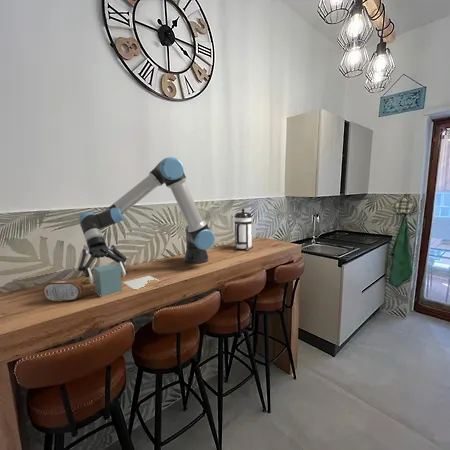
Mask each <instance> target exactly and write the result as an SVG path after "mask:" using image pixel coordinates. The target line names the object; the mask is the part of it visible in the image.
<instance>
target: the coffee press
mask: <svg viewBox="0 0 450 450" xmlns="http://www.w3.org/2000/svg"><path fill="white" fill-rule="evenodd" d="M252 217H253V216H252V214H251V212H246V211H245V209H244V208H242V209H241V211H239V212H236V213H235V214H234V239H235V240H234V242H235V245H234V246H235V247H234V248H233V250H235V251H237V250H238V249H243V250H245V251H246V252H249V251H250V249H253V244H252V238H253V237H252V223H253V222H252Z"/></svg>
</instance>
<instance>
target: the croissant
mask: <svg viewBox="0 0 450 450" xmlns="http://www.w3.org/2000/svg"><path fill="white" fill-rule="evenodd" d="M125 272H126V274H125V276H126V275H127V274H128V272H129V271H128V270H127V269H125ZM91 274H92V277H93V280H94V273H91ZM122 277H123V275H122V273H121V278H122ZM81 281H82V282H83V283H85V284H91V283H90V280H89V277H86V276H85V277H84V278H82V279H81ZM93 284H95V280H94V282H93Z"/></svg>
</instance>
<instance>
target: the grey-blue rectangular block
mask: <svg viewBox="0 0 450 450" xmlns="http://www.w3.org/2000/svg"><path fill="white" fill-rule="evenodd" d="M93 274H94V280H95V283H94V288H95V293H96V292H97V295H99V296H100V295H101V296H102V297H104V296H105V297H106V296H108V295H112V294H115V293H119V292H122V291H123V285H122V284H123V281H122V277H121V269H120V267H119V265H116V264H114V263H111V264H105V265H101V266H96V267H93ZM101 296H100V297H101Z"/></svg>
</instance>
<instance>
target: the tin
mask: <svg viewBox="0 0 450 450" xmlns="http://www.w3.org/2000/svg"><path fill="white" fill-rule="evenodd" d="M42 289H43V290H42V294H43V296H44V298H45V299H46V300H48V301H50V300H74V301H76V300H77V299H78V298H81V296H82V295H83V292H84V287H83V286H82V284H81V283H80V282H79V281H77V280H74V279H67V280H66V279H61V280H60V279H59V280H58V279H56V280H51V281H49V282H48V283H46V284H45V285H44V286H43V288H42Z"/></svg>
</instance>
